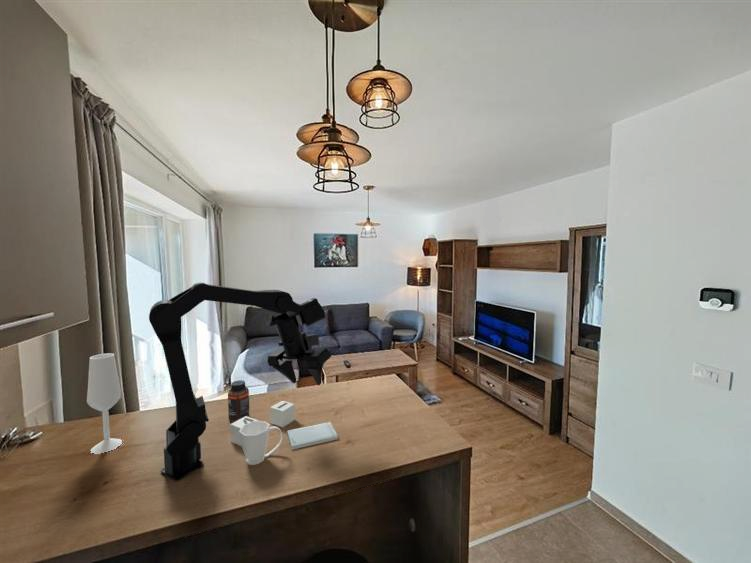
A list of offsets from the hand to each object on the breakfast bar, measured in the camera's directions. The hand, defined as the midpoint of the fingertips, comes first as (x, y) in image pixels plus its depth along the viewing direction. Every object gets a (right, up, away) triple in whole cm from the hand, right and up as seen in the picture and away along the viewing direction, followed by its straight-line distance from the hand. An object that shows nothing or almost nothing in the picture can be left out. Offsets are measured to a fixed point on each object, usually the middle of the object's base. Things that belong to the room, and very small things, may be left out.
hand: (307, 383), depth 89 cm
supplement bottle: (-22, -13, +7) cm, 27 cm away
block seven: (-16, -14, -4) cm, 22 cm away
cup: (-9, -15, -12) cm, 21 cm away
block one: (-9, -13, +5) cm, 17 cm away
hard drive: (+2, -15, -2) cm, 15 cm away
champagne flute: (-50, -14, -8) cm, 53 cm away
